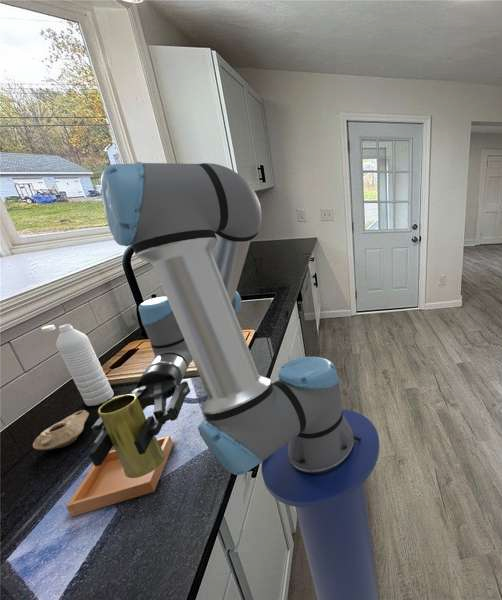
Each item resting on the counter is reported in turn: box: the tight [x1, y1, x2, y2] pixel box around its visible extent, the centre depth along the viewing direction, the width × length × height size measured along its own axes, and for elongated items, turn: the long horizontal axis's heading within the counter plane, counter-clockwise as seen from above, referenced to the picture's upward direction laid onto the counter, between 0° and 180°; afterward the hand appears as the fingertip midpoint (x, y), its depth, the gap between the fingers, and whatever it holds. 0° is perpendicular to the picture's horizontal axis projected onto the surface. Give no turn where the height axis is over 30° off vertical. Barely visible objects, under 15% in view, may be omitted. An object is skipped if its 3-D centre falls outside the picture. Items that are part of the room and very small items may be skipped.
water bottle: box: [40, 323, 115, 407], centre depth 90 cm, size 9×6×25 cm
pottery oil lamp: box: [32, 409, 90, 451], centre depth 79 cm, size 9×12×7 cm
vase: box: [97, 393, 165, 478], centre depth 57 cm, size 6×6×14 cm
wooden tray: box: [65, 434, 174, 517], centre depth 68 cm, size 14×14×3 cm
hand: (117, 453), depth 52 cm, fingers closed on vase, 5 cm apart
